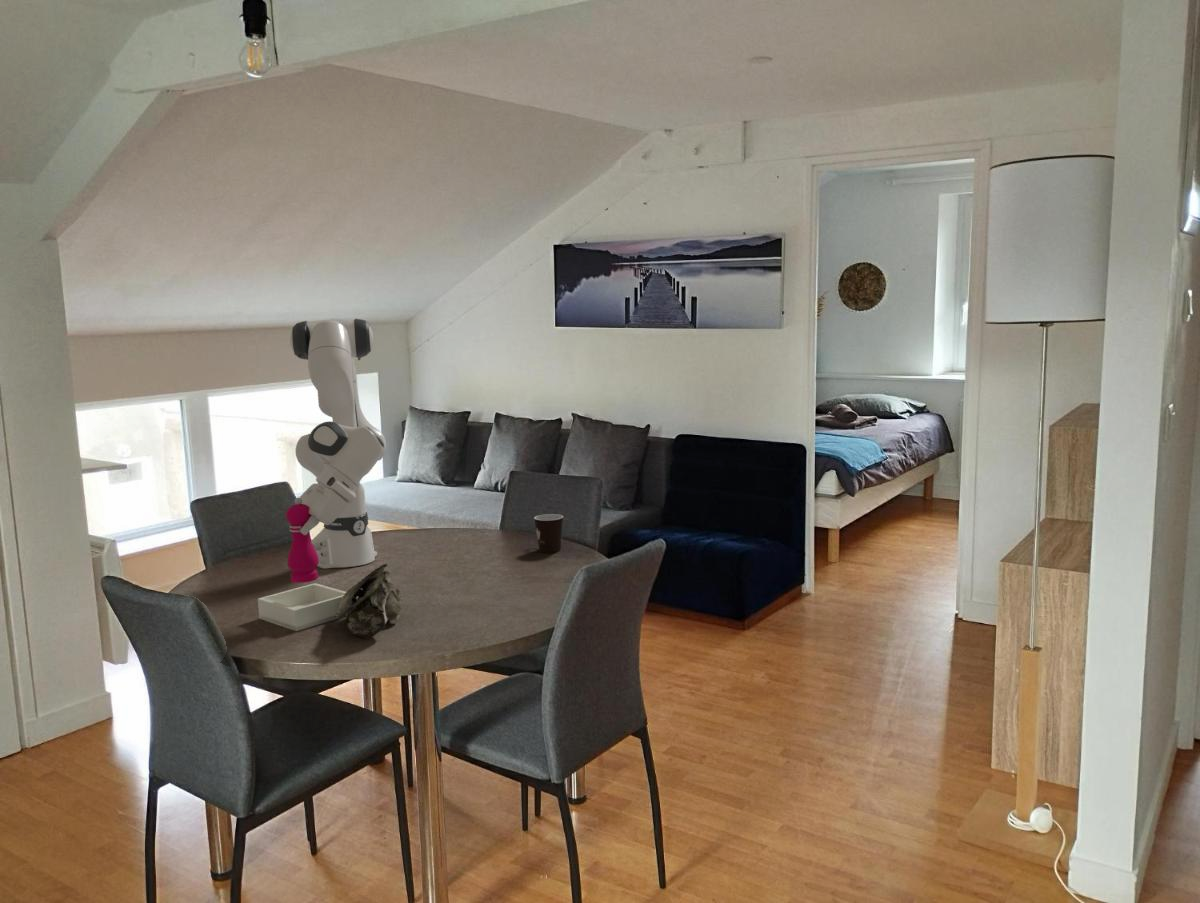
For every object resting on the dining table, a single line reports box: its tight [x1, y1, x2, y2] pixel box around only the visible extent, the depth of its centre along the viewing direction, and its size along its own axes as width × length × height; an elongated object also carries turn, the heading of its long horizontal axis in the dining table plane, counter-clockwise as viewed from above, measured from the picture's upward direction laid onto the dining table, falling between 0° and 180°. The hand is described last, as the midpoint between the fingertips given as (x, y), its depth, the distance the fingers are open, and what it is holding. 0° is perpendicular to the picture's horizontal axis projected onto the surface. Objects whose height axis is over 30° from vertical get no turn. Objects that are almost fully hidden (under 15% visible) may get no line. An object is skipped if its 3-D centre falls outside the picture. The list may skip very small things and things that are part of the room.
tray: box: [257, 582, 348, 632], centre depth 242 cm, size 16×16×5 cm
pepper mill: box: [285, 497, 319, 584], centre depth 239 cm, size 7×7×20 cm
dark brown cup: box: [533, 513, 564, 554], centre depth 299 cm, size 12×9×10 cm
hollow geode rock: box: [335, 563, 404, 640], centre depth 232 cm, size 28×13×15 cm
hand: (297, 531), depth 239 cm, fingers closed on pepper mill, 5 cm apart
